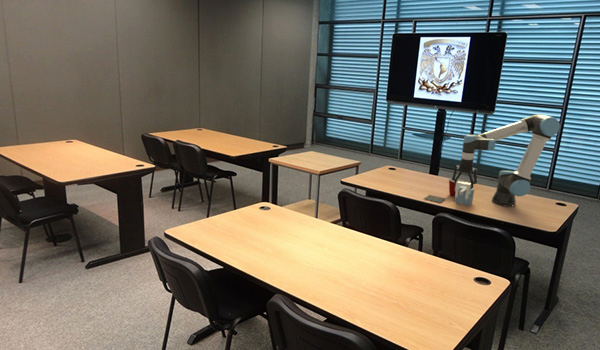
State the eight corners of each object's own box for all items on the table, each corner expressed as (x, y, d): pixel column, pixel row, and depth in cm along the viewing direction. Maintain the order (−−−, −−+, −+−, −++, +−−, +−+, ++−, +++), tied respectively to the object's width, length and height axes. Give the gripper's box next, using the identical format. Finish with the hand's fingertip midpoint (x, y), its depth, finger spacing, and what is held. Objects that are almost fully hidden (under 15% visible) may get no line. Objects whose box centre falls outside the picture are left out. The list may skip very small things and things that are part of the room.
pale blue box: (468, 197, 287) (470, 183, 285) (467, 199, 284) (469, 184, 282) (456, 195, 292) (458, 181, 289) (455, 196, 288) (456, 182, 286)
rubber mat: (445, 199, 304) (446, 198, 303) (440, 203, 294) (440, 202, 294) (429, 195, 310) (429, 194, 310) (423, 199, 300) (423, 198, 300)
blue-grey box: (472, 203, 297) (474, 188, 294) (466, 209, 284) (468, 193, 281) (457, 200, 302) (459, 185, 299) (450, 206, 289) (453, 190, 287)
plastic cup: (460, 199, 306) (462, 182, 303) (444, 196, 311) (447, 180, 308) (462, 195, 315) (465, 179, 312) (447, 192, 320) (450, 176, 317)
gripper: (485, 160, 278) (480, 193, 284) (452, 155, 290) (448, 187, 296) (482, 162, 272) (477, 196, 278) (449, 157, 284) (445, 190, 290)
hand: (462, 191), depth 287 cm, fingers closed on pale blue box, 8 cm apart
